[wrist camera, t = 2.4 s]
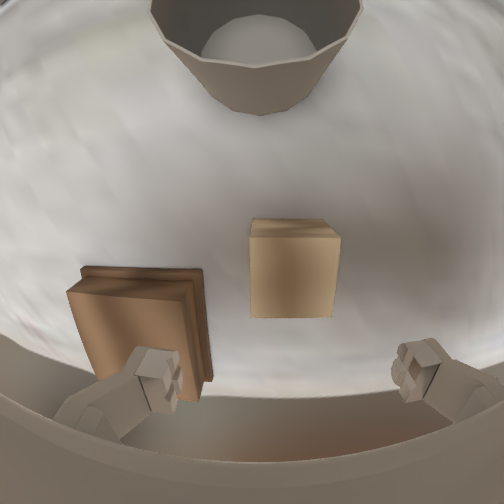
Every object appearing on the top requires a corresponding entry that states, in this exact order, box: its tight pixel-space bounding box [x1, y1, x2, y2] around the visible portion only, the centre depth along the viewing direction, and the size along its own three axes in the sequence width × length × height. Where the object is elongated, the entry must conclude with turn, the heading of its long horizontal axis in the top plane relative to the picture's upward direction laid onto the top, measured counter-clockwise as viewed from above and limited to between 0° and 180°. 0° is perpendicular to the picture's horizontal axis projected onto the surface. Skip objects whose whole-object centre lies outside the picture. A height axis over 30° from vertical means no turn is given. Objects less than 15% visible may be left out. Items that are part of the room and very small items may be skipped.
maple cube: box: [250, 219, 341, 318], centre depth 18 cm, size 5×5×5 cm
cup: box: [147, 0, 364, 116], centre depth 11 cm, size 8×8×10 cm
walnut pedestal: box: [66, 266, 213, 402], centre depth 21 cm, size 11×11×4 cm
